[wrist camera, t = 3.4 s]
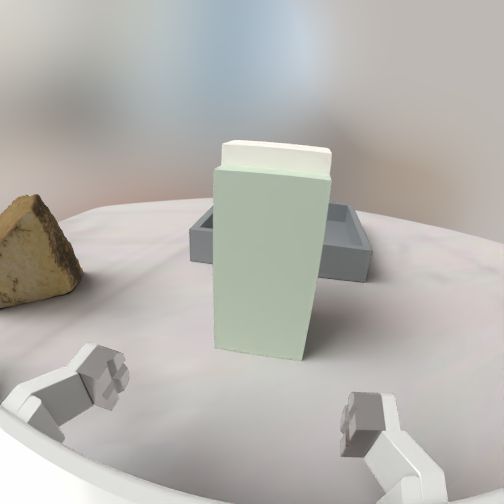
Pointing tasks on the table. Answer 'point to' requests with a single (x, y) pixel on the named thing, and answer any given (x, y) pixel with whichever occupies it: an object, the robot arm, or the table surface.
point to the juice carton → (267, 244)
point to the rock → (34, 254)
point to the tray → (333, 251)
